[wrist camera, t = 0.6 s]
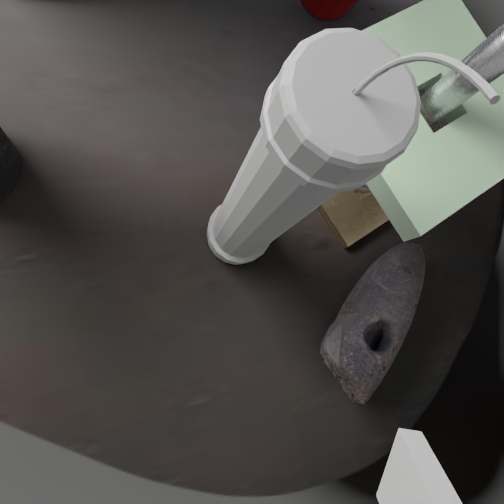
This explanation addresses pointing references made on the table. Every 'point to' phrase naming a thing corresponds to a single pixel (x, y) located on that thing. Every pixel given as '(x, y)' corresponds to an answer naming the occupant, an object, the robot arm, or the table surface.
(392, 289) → the perforated stone tool
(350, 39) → the pipe
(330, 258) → the table surface
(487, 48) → the post stand
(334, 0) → the plastic cup
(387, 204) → the pale mint square tile
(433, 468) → the robot arm
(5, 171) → the travel mug
